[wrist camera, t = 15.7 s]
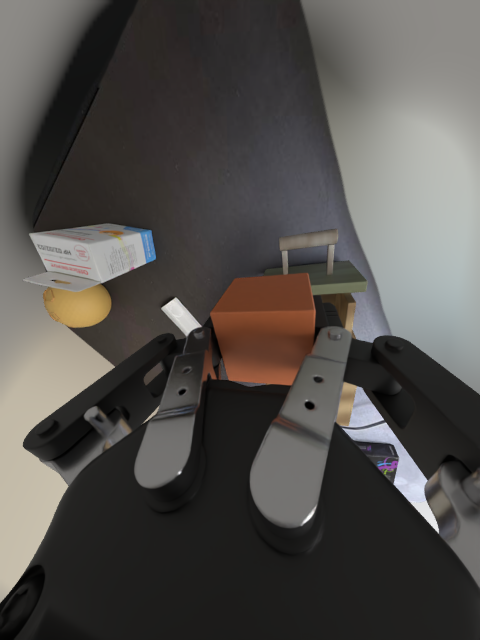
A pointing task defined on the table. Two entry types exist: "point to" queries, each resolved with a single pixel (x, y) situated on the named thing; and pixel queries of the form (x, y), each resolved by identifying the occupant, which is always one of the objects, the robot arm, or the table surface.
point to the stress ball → (77, 305)
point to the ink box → (90, 254)
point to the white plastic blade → (180, 316)
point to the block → (265, 327)
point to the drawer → (325, 273)
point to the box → (382, 457)
